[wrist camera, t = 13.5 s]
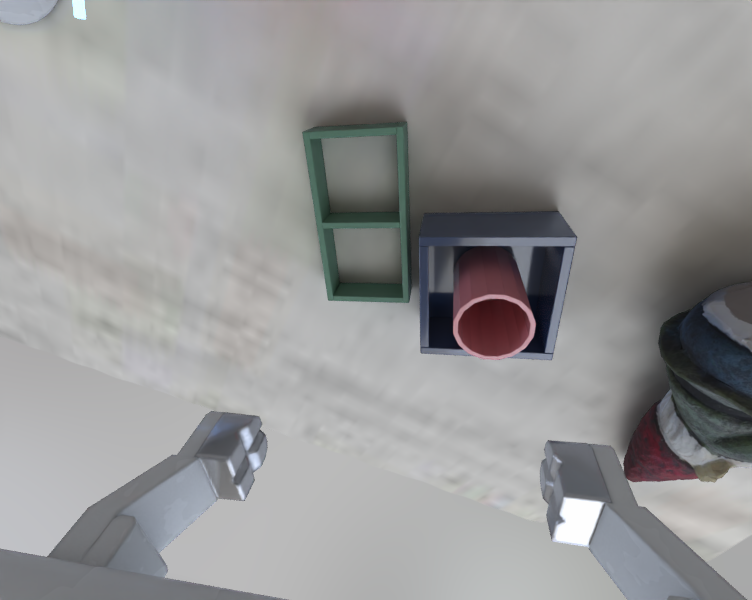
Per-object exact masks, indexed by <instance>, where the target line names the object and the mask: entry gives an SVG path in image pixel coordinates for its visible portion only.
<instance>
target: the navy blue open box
mask: <svg viewBox="0 0 752 600" xmlns="http://www.w3.org/2000/svg"><path fill="white" fill-rule="evenodd" d="M576 240H577V236H576V235H575V233H574V232H573V231H572V229H571V228H570V226H569V225H568V224H567V222H566V221H565V219H564V218H563V217H562V215H561V214H560V213H559V212H558V211H541V212H466V213H424V215H423V220H422V225H421V229H420V234H419V285H420V346H421V347H420V350H421V353H424V354H443V355H463V356H473V355H470V354H468V353H467V352H466V351H465V350H464V349H463V348H461V347H460V346H459V345H458V343H457V341H456V339H455V337H454V334H453V273H454V268H455V265H456V263H457V261H458V259H459V258H460V257H461V256H462V255H463V254H464V253H465V252H467V251H468V250H470V249H472V248H475V247H478V246H497V247H501V248H503V249H505V250H506V251H508V252H509V253H510V254H511V255H512V256H513V257H514V259H515V260H516V262H517V265H518V268H519V271H520V274H521V277H522V280H523V284H524V287H525V290H526V293H527V296H528V299H529V302H530V306H531V309H532V312H533V315H534V318H535V321H536V327H535V333H534V337H533V339H532V340H531V341H530V343H529V344H528V346H527V347H526V348H525V349H523V350H522V351H520V352H519V353H517V354H516V355H514V356H512V357H508V358H520V359H539V360H552V358H553V353H554V348H555V343H556V338H557V333H558V328H559V323H560V318H561V313H562V308H563V303H564V298H565V294H566V289H567V284H568V279H569V274H570V269H571V264H572V259H573V254H574V249H575V245H576Z"/></svg>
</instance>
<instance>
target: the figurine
mask: <svg viewBox="0 0 752 600" xmlns="http://www.w3.org/2000/svg"><path fill="white" fill-rule="evenodd" d="M658 344H659V348H660V353H661V357H662V358H663V360H664V361H665V363H666V364H667V367H666V371H667V375H668V380H669V385H670V390H669V391H668V392H667V394H666V395H665V397H664V398H663V399H662V400H660V401H658V402H656V403H655V404H654V405H653V406H652V407H651V408H650V410H649V411H648V412H647V413H646V414H645V416H644V417H643V418H642V419H641V421H640V423H639V425H638V427H637V429H636V430H635V432H634V434H633V436H632V438H631V441H630V443H629V447H628V450H627V453H626V455H625V458H624V463H623V464H624V474H625V476H626V478H627V479H628V480H630V481H632V482H641V481H658V482H660V481H669V480H678V479H680V480H686V479H697V478H699V480H700V481H703V482H710V481H711V482H714V483H715V482H716V480H717V479H719V478H722V477H723V476H724V475H725V474H726V473H727V472H728V470H729V469H730V468H735V467H743V468H751V467H752V282H747V283H740V284H735V285H731V286H728V287H725V288H722V289H720V290H717V291H716V292H714V293H712V294H711V295H710V296H709V297H708V298H706V299H704V300H703V301H701V302H700V303H698V304H697V305H696V306H695V307H694V308H693V309H691V310H688V311H686V312H682V313H679V314H677V315H675V316H674V317H672V318H671V319H670V320H668V321H666V322H665V323H664V324H663V325H662V327H661V330H660V336H659V342H658Z"/></svg>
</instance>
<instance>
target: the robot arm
mask: <svg viewBox="0 0 752 600" xmlns="http://www.w3.org/2000/svg"><path fill="white" fill-rule="evenodd" d="M57 1H58V0H0V21H1V22H4V23H8V24H14V25H26V24H31V23H34V22H37V21H39V20H41V19H42V18H44V17H45V16H46V15H48V14H49V13H50V12H51V10H52V9H53V8H54V6H55V5H56V3H57ZM73 10H74V17H76V18H79V19H86V15H85V4H84V0H73ZM261 426H262V422H261V419H260V417H259V416H254V415H245V414H236V413H228V412H217V411H211V412H209V413H208V414H206V415H205V417H204V418H203V420H202V421H201V423H200V424H199V425H198V427H197V428H196V429H195V431H194V432H193V434H192V435H191V436H190V438H189V439H188V441H187V442H186V443H185V445H184V446H183V448H182V449H181V450H180V452H179V453H178V454H177V455H171V456H170V457H168V458H167V459H165V460H163V461H162V462H161V463H159V464H157V465H156V466H154V467H152V468H151V469H149V470H148V471H146V472H144V473H143V474H141V475H140V476H138V477H136V478H135V479H133V480H132V481H130V482H128V483H127V484H125V485H124V486H122V487H121V488H119V489H117V490H116V491H114V492H113V493H111V494H109V495H108V496H106V497H105V498H103V499H101V500H100V501H98V502H97V503H95V504H93V505H92V506H90V507H89V508H87V510H86V511H85V512H84V513H83V514H82V516H81V517H80V518H79V519H78V520H77V522H76V523H75V524H74V525H73V526H72V528H71V529H70V530H69V531H68V532H67V534H66V535H65V536H64V537H63V538H62V540H61V541H60V542H59V543H58V544H57V546H56V547H55V548H54V549H53V551H52V552H51V553H50V554H49V556H47V557H44V556H38V555H33V554H27V553H21V552H16V551H10V550H4V549H0V600H287V599H282V598H276V597H270V596H264V595H259V594H253V593H248V592H242V591H236V590H231V589H225V588H219V587H214V586H207V585H203V584H196V583H191V582H186V581H180V580H174V579H168V578H164V577H165V575H166V573H167V572H168V569H167V565H166V563H165V562H164V560H163V559H162V557H161V556H160V554H159V552H161V551H162V550H163V549H164V548H165V547H166V546H167V545H168V544H170V543H171V542H172V541H173V540H174V539H175V538H176V537H177V536H178V535H179V534H180V533H182V532H183V531H184V530H185V529H186V528H187V527H188V526H189V525H190V524H192V523H193V522H194V521H195V520H196V519H197V518H198V517H199V516H200V515H201V514H203V513H204V512H205V511H206V510H207V509H208V508H209V507H210V506H212V505H213V504H214V503H215V502H216V501H217V498H219V499H230V500H239V501H245V499H246V497H247V495H248V493H249V491H250V489H251V487H252V485H253V483H254V480H255V479H254V475H253V472H255V471H256V470H257V469H259V468H260V467H261V466H262V464H263V462H264V460H265V457H266V452H267V439H266V435H265V434H264V433H263V432H262V431H261V430H260V428H261ZM544 451H545V456H546V458H545V459H544V460H542V462H541V468H540V484H541V491H542V496H543V499H544V500H545V501H546V502H547V503H548V504H549V506H548V510H547V514H546V516H547V521H548V525H549V530H550V535H551V539H552V541H554V542H560V543H567V544H573V545H579V546H586V547H589V550H590V551H591V553H592V554H593V555H594V557H595V558H596V559H597V561H598V562H599V563H600V564H601V566H602V567H603V568H604V570H605V571H606V572H607V574H608V575H609V576H610V578H611V579H612V580H613V581H614V583H615V584H616V585H617V587H618V588H619V589H620V591H621V592H622V593H623V595H624V596H625V597H626V599H627V600H747V599H746V598H745V597H744V596H742V595H741V594H740V593H739V592H738V591H737V590H736V589H735V588H734V587H733V586H731V585H730V584H729V583H728V582H727V581H726V580H725V579H724V578H723V577H721V576H720V575H719V574H718V573H717V572H716V571H715V570H714V569H713V568H712V567H710V566H709V565H708V564H707V563H706V562H705V561H704V560H703V559H702V558H701V557H700V556H698V555H697V554H696V553H695V552H694V551H693V550H692V549H691V548H690V547H689V546H687V545H686V544H685V543H684V542H683V541H682V540H681V539H680V538H679V537H677V536H676V535H675V534H674V533H673V532H672V531H671V530H670V529H669V528H668V527H666V526H665V525H664V524H663V523H662V522H661V521H660V520H659V519H658V518H657V517H655V516H654V515H653V514H652V513H651V512H650V511H649V510H648V509H647V508H646V507H640V506H638V504H637V502H636V500H635V497H634V495H633V493H632V490H631V488H630V486H629V483H628V481H627V478H626V476H625V474H624V471H623V469H622V467H621V464H620V462H619V460H618V457H617V455H616V453H615V450H614V449H613V448H612V447H611V446H609V445H598V444H587V443H577V442H563V441H550V440H548V441H547V442H546V444H545V448H544Z"/></svg>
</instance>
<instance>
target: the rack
mask: <svg viewBox="0 0 752 600" xmlns="http://www.w3.org/2000/svg"><path fill="white" fill-rule="evenodd" d="M381 135H396V136H397V161H398V186H399V211H400V212H350V213H331V212H330V204H329V197H328V189H327V182H326V174H325V167H324V159H323V151H322V144H321V139H322V138H342V137H362V136H381ZM303 139H304V146H305V152H306V159H307V165H308V172H309V178H310V185H311V191H312V198H313V204H314V211H315V217H316V224H317V231H318V237H319V244H320V250H321V257H322V263H323V270H324V276H325V283H326V289H327V296H328V300H329V301H333V300H334V301H363V302H398V303H409V300H410V295H411V289H412V281H411V244H410V206H409V168H408V131H407V122H401V123H400V122H397V123H379V124H361V125H343V126H326V127H313V128H311V129H308V130H306V131H304V132H303ZM338 228H400V236H401V261H402V284H383V283H340V280H339V273H338V265H337V258H336V250H335V242H334V235H333V229H338Z"/></svg>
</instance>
